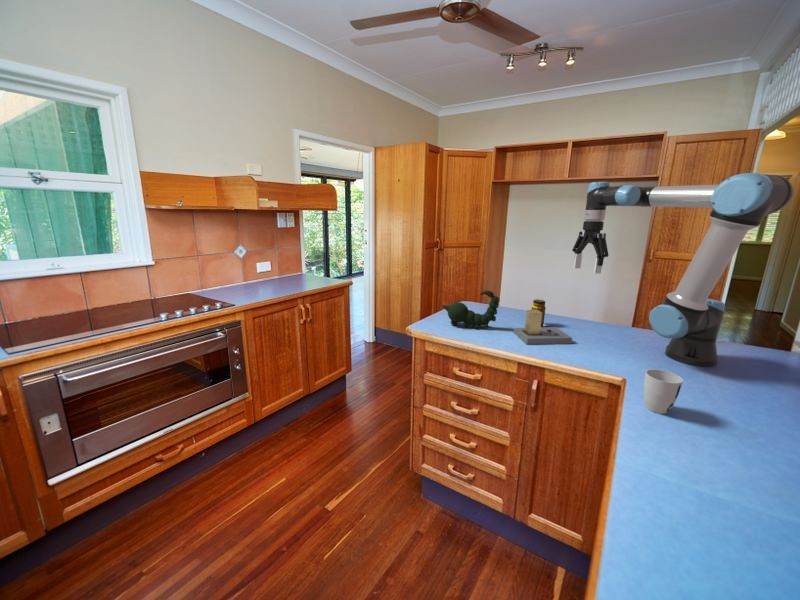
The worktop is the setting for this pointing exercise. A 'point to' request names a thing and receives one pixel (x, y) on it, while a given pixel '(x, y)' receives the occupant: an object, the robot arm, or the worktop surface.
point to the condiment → (540, 308)
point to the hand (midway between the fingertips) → (586, 270)
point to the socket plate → (544, 336)
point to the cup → (661, 390)
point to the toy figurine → (472, 313)
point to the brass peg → (533, 323)
